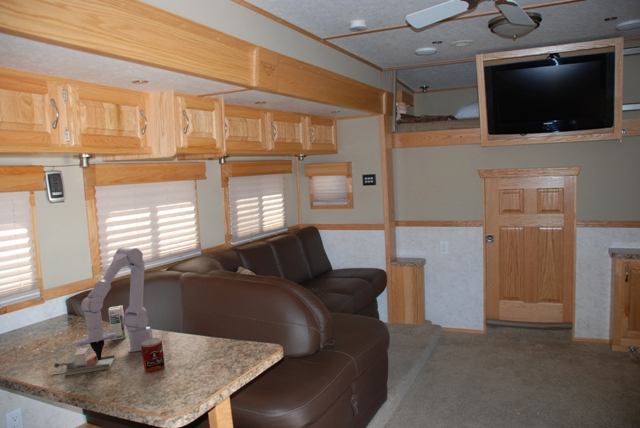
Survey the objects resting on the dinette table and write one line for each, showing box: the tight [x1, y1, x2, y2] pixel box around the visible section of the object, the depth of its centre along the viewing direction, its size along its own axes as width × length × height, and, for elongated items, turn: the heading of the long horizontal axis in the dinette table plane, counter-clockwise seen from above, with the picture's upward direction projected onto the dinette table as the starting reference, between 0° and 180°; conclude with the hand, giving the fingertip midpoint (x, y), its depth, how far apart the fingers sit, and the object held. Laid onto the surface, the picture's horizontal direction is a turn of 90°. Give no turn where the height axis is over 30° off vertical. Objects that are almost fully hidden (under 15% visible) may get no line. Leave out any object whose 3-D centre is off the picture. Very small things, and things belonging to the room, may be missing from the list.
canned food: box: [141, 337, 166, 374], centre depth 194 cm, size 8×8×11 cm
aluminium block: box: [73, 346, 92, 368], centre depth 201 cm, size 4×7×6 cm, turn 10°
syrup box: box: [107, 305, 127, 341], centre depth 234 cm, size 6×6×14 cm
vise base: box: [53, 354, 116, 376], centre depth 201 cm, size 22×10×4 cm, turn 100°
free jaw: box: [86, 352, 99, 367], centre depth 202 cm, size 3×8×3 cm, turn 10°
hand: (99, 359), depth 202 cm, fingers closed
